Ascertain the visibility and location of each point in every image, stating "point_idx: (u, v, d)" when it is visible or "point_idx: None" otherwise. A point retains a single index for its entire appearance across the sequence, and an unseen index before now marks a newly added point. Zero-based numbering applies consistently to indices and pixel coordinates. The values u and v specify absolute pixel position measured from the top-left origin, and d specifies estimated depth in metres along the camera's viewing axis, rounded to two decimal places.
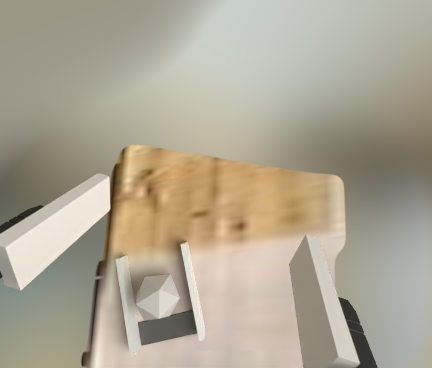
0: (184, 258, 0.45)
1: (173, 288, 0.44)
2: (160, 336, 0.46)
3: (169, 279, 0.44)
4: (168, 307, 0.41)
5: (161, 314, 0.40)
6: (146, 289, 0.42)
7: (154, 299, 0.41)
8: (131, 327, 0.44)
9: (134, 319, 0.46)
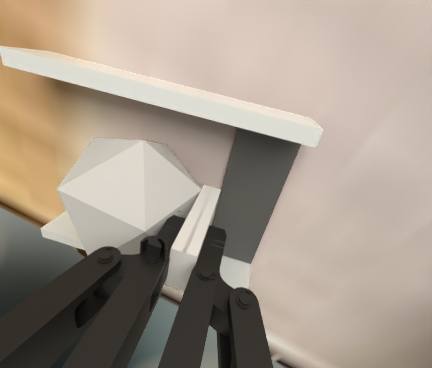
0: (46, 71, 0.13)
1: (111, 147, 0.13)
2: (255, 226, 0.19)
3: (94, 144, 0.14)
4: (138, 187, 0.12)
5: (139, 218, 0.11)
6: None
7: (84, 216, 0.12)
8: None
9: None
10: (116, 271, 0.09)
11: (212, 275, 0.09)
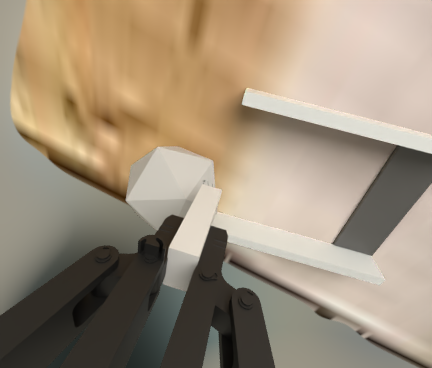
0: (279, 110, 0.17)
1: (142, 162, 0.19)
2: (386, 225, 0.23)
3: (133, 168, 0.20)
4: (169, 175, 0.17)
5: (179, 192, 0.17)
6: (144, 219, 0.20)
7: (148, 209, 0.18)
8: (336, 263, 0.23)
9: (324, 249, 0.25)
10: (114, 270, 0.09)
11: (213, 275, 0.09)
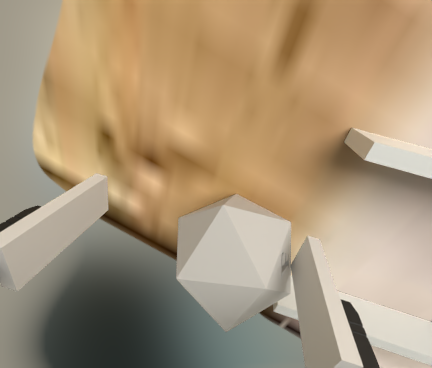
0: (425, 170, 0.11)
1: (198, 222, 0.14)
2: None
3: (183, 224, 0.16)
4: (240, 248, 0.12)
5: (254, 277, 0.12)
6: None
7: (206, 293, 0.13)
8: None
9: (428, 334, 0.18)
10: None
11: None
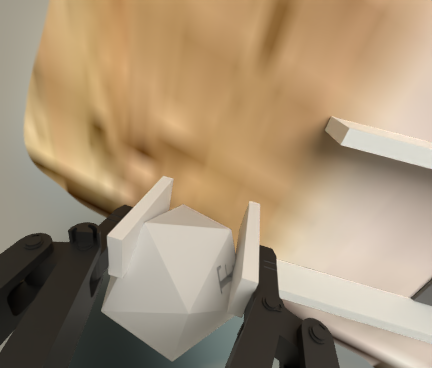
0: (395, 153, 0.12)
1: None
2: None
3: None
4: (161, 270, 0.11)
5: (177, 301, 0.10)
6: None
7: (135, 323, 0.11)
8: (426, 330, 0.18)
9: (405, 308, 0.20)
10: (49, 255, 0.09)
11: (278, 306, 0.09)
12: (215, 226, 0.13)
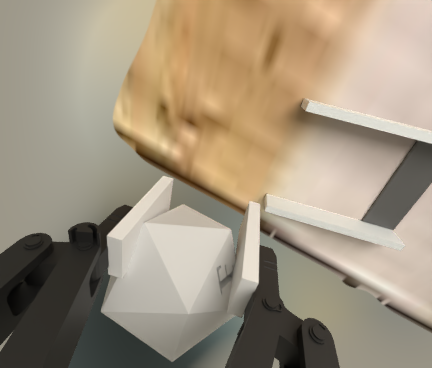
0: (333, 115, 0.24)
1: None
2: (406, 204, 0.30)
3: None
4: (161, 270, 0.11)
5: (177, 301, 0.10)
6: None
7: (135, 323, 0.11)
8: (366, 233, 0.30)
9: (355, 223, 0.31)
10: (49, 255, 0.09)
11: (278, 306, 0.09)
12: (215, 226, 0.13)
